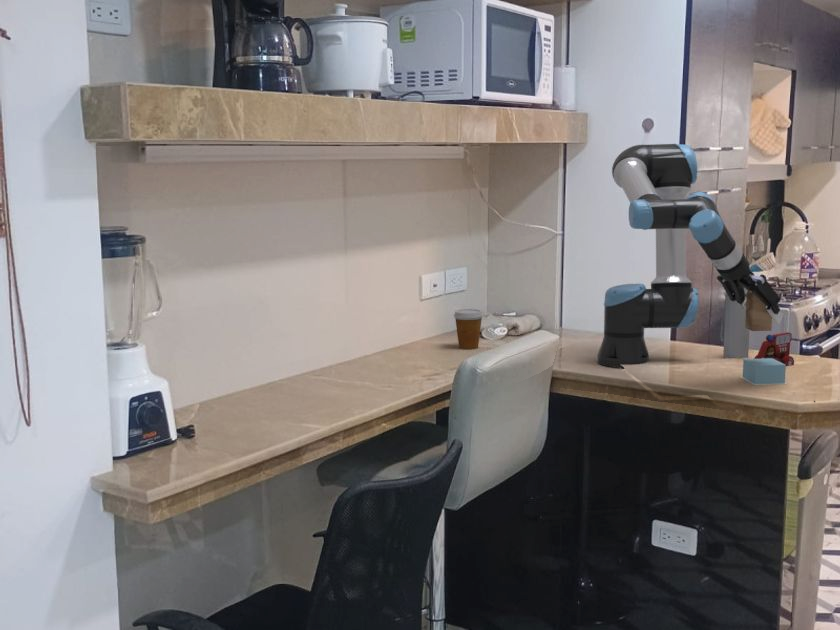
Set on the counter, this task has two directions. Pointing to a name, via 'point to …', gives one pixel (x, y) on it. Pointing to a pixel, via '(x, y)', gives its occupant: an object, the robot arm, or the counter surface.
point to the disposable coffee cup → (468, 327)
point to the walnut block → (757, 314)
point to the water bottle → (734, 329)
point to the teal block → (764, 371)
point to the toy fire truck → (777, 348)
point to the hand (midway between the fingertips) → (767, 318)
